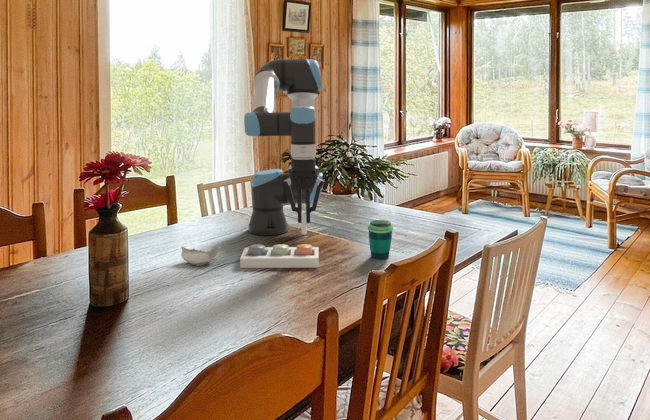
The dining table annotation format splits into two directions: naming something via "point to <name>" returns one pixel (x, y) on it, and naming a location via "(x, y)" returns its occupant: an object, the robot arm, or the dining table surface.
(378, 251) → the cup
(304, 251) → the button terracotta
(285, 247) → the button sage
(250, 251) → the button slate
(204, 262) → the pottery shard
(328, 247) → the dining table surface
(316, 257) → the panel
